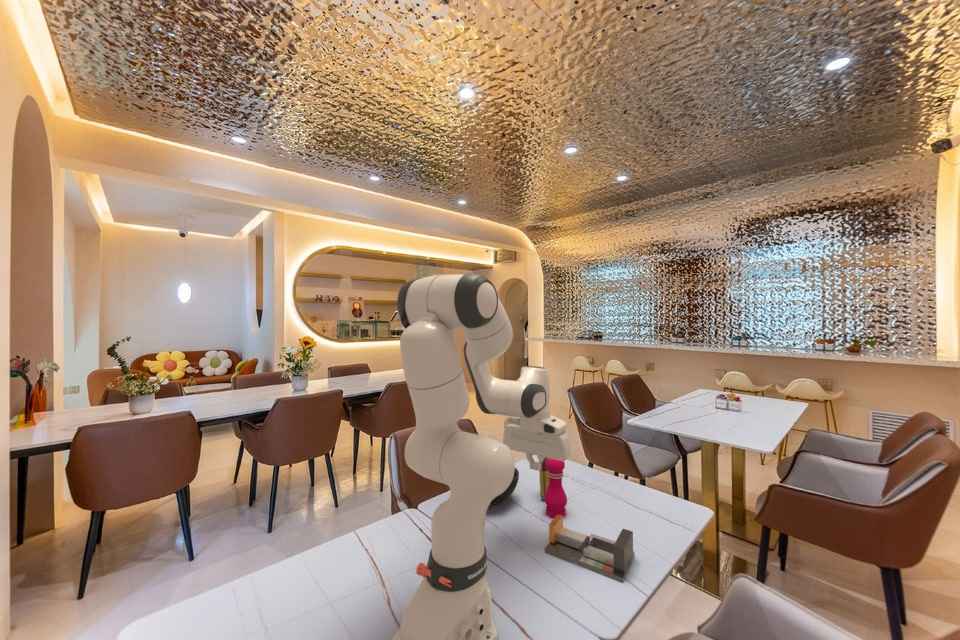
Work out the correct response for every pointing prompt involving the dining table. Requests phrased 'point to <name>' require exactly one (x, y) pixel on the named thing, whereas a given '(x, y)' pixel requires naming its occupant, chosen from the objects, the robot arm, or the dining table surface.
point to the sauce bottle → (543, 478)
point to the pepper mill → (555, 489)
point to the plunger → (567, 535)
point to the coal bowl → (508, 490)
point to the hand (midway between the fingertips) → (535, 469)
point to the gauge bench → (600, 555)
